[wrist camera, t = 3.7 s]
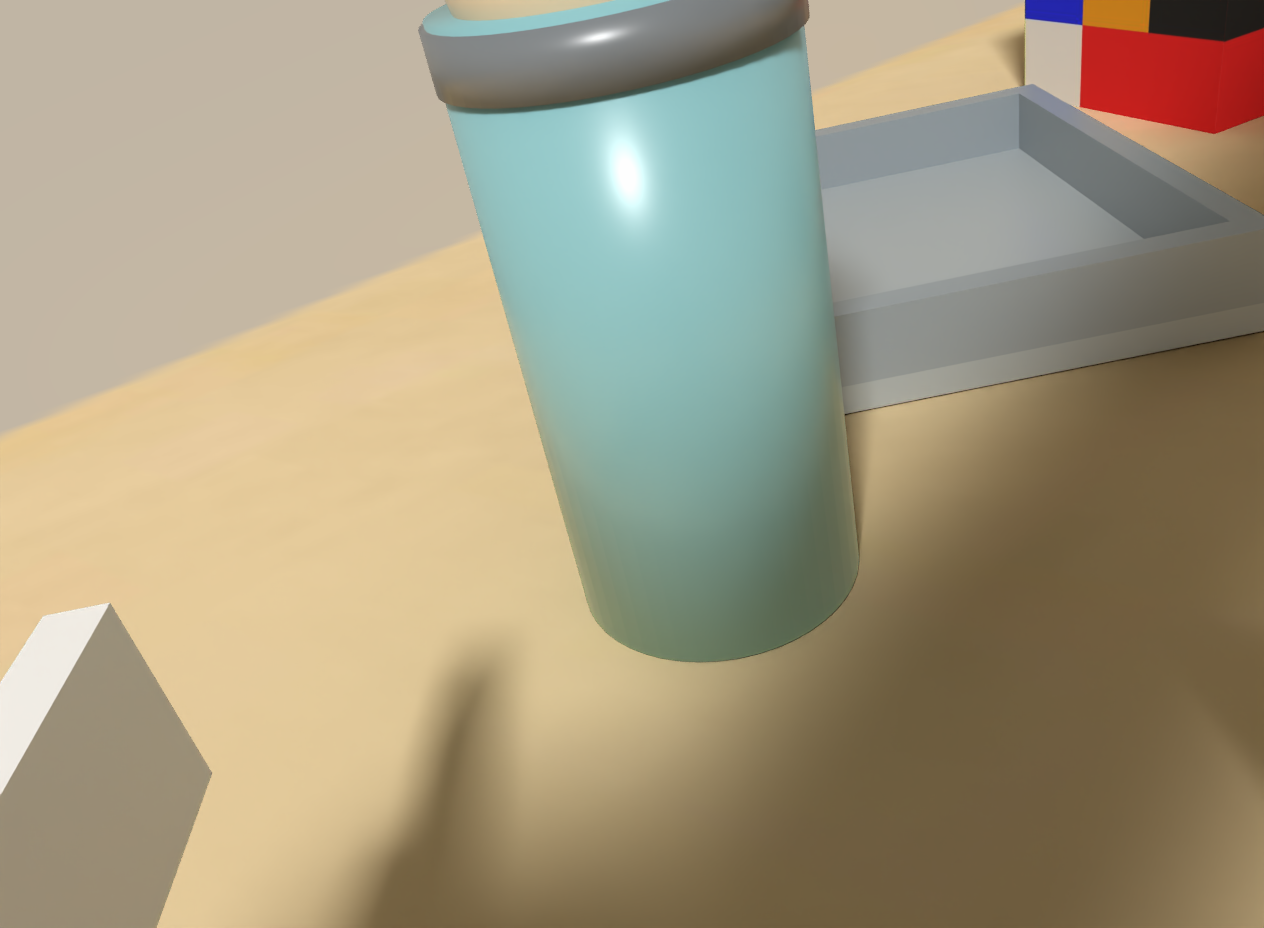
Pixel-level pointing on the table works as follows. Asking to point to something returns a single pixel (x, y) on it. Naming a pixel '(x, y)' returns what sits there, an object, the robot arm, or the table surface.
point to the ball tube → (665, 302)
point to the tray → (1020, 248)
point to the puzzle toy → (1151, 58)
